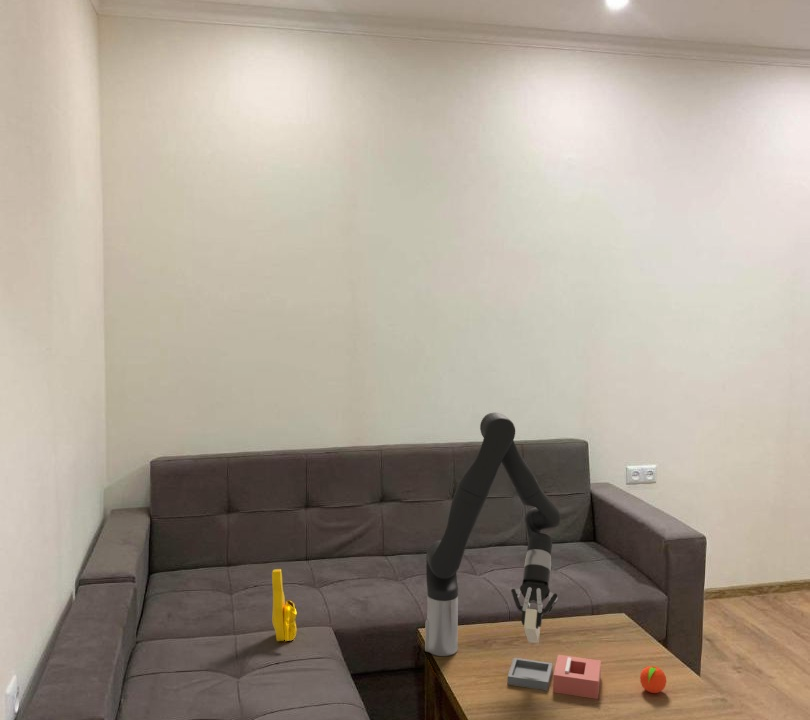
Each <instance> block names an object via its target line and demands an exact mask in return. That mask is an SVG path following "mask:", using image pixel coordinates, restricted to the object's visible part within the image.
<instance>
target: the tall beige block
mask: <svg viewBox="0 0 810 720" xmlns="http://www.w3.org/2000/svg"><path fill="white" fill-rule="evenodd" d="M537 613H538V609H535V608H534V609H533V608H529V609H526V614H525V623H524V625H523V630H524V633H525V636H526V639H527V643H534V644H539V643H540V634H541V633H540V632H541V627H539V628H538V629H537V628H536V621H537Z"/></svg>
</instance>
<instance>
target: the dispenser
mask: <svg viewBox="0 0 810 720" xmlns="http://www.w3.org/2000/svg"><path fill="white" fill-rule="evenodd" d="M601 663H602V660H599V659H593V658H591V659H590V658H584V657H578V656H570V655H562V654H557V658H556V663H555V666H554V669H553V670H554V671H553V674H552V675H553V677H552V678H553V680H552V693H558V694H561V695H562V694H564V695H570V696H576V697H583V698H590V699H596V700H598V699H599V693H600V685H601V676H602V675H601V671H602V670H601V669H602V665H601Z"/></svg>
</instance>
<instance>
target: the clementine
mask: <svg viewBox="0 0 810 720" xmlns="http://www.w3.org/2000/svg"><path fill="white" fill-rule="evenodd" d="M639 679H640V680H639V681H640V684H641V686H642V688H643V689H644V690H645V691H646V692H648V693H651V694H657V693H661V692H663V690H664V689H665V688H666V685H667V677H666V674H665V672H664V671H663V670H662V669H661V668H660V667H658V666H656V665H649V666H646V667H645V668H643V669H642V670H641V672H640V675H639Z"/></svg>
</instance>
